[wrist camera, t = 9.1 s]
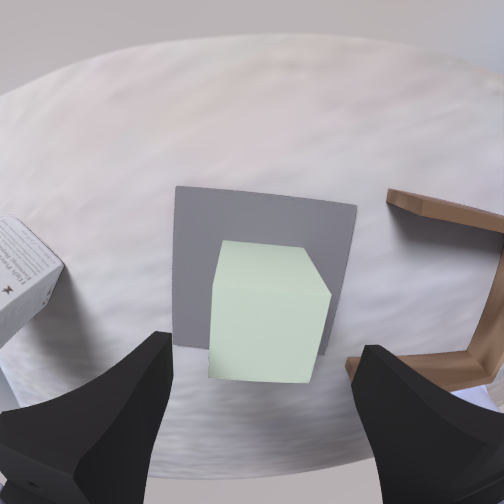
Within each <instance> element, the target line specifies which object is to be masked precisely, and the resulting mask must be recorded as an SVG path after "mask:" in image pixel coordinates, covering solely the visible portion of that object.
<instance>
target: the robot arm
mask: <svg viewBox="0 0 504 504" xmlns="http://www.w3.org/2000/svg"><path fill="white" fill-rule="evenodd" d="M172 381H173V354H172V333H167V332H159V331H155V332H154V333H152V334H151V335H150V336H149V337H148V338H147V339H146V340H145V341H143V342H142V343H141V344H140V345H139V346H138V347H137V348H135V349H134V350H133V351H132V352H131V353H130V354H128V355H127V356H126V357H125V358H124V359H122V360H121V361H120V362H119V363H117V364H116V365H114V366H113V367H112V368H110V369H109V370H108V371H106V372H105V373H103V374H102V375H100V376H99V377H97V378H96V379H94V380H92V381H90V382H89V383H87V384H85V385H83V386H81V387H79V388H77V389H75V390H73V391H71V392H68V393H66V394H64V395H62V396H60V397H57V398H54V399H52V400H49V401H46V402H43V403H39V404H36V405H33V406H29V407H24V408H20V409H15V410H10V411H4V412H2V413H1V414H0V471H1V473H2V474H3V475H4V476H5V477H6V478H7V481H6V483H5V486H3V485H2V484H1V483H0V504H143V501H144V494H145V487H146V480H147V474H148V469H149V464H150V458H151V453H152V450H153V446H154V442H155V439H156V436H157V433H158V430H159V427H160V424H161V421H162V418H163V415H164V412H165V409H166V406H167V403H168V400H169V396H170V391H171V386H172ZM351 387H352V392H353V397H354V401H355V405H356V408H357V411H358V413H359V416H360V419H361V421H362V424H363V427H364V429H365V432H366V434H367V437H368V440H369V442H370V445H371V448H372V450H373V454H374V457H375V461H376V465H377V470H378V474H379V480H380V486H381V492H382V499H383V504H504V413H502V412H501V411H500V410H499V408H498V407H497V406H496V405H495V403H494V402H493V401H492V399H491V398H490V397H489V395H488V392H487V389H486V386H485V385H481V386H477V387H472V388H468V389H463V390H458V391H453V392H448V391H446V390H444V389H442V388H440V387H439V386H437V385H436V384H434V383H433V382H431V381H429V380H428V379H426V378H425V377H423V376H422V375H421V374H419V373H418V372H416V371H415V370H414V369H412V368H411V367H409V366H408V365H407V364H405V363H404V362H403V361H401V360H400V359H399V358H397V357H396V356H395V355H393V354H392V353H391V352H389V351H388V350H386V349H385V348H383V347H382V346H380V345H365V347H364V350H363V353H362V356H361V359H360V362H359V364H358V367H357V370H356V373H355V375H354V378H353V381H352V383H351Z"/></svg>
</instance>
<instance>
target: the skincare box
mask: <svg viewBox="0 0 504 504" xmlns="http://www.w3.org/2000/svg"><path fill="white" fill-rule="evenodd" d="M63 267H64V265H63V263H62V262H61V260H60V259H59V258H58V257H57V256H55V255H54V254H53V253H52V252H51V251H50V250H49V249H48V248H47V247H46V246H45V245H44V244H43V243H42V242H41V241H40V240H39V239H38V238H37V237H36V236H35V235H34V234H33V233H32V232H31V231H30V230H29V229H28V228H26V227H25V226H24V225H23V224H22V223H21V222H20V221H19V220H18V219H17V218H16V217H14V216H13V215H11V214H8V215H5V216H3V217H0V349H1V348H2V347H3V346H4V345H5V344H6V343H7V342H8V341H9V340H10V339H11V338H12V337H13V336H14V335H15V334H16V333H17V332H18V331H19V330H20V329H21V328H22V327H23V326H24V325H25V324H26V323H27V322H28V321H30V320H31V319H32V318H33V317H34V316H35V315H36V314H37V313H38V312H39V311H40V310H41V309H43V308H44V307H45V306H46V305H47V303H48V301H49V299H50V296H51V294H52V292H53V289H54V287H55V285H56V282H57V280H58V278H59V276H60V273H61V271H62V269H63Z"/></svg>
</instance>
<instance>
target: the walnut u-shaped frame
mask: <svg viewBox="0 0 504 504" xmlns="http://www.w3.org/2000/svg"><path fill="white" fill-rule="evenodd" d="M386 202H389V203H391V204H394V205H396V206H398V207H401V208H403V209H406V210H408V211H410V212H413V213H415V214H417V215H420V216H424V217H430V218H435V219H440V220H445V221H450V222H455V223H460V224H465V225H469V226H474V227H479V228H483V229H488V230H492V231H496V232H501V233H504V216H502V215H498V214H495V213H491V212H488V211H484V210H480V209H476V208H473V207H469V206H465V205H461V204H457V203H453V202H449V201H445V200H440V199H436V198H432V197H427V196H423V195H418V194H414V193H409V192H404V191H399V190H394V189H389V188H388V195H387V201H386ZM396 357H397V358H399V359H400V360H401V361H403V362H404V363H405V364H407V365H408V366H409V367H411V368H412V369H414V370H415V371H416V372H418V373H419V374H421V375H422V376H423V377H425V378H426V379H428V380H429V381H431V382H433V383H434V384H436V385H437V386H439V387H440V388H442V389H444V390H446V391H448V392H453V391H458V390H463V389H468V388H472V387H477V386H481V385H485V384H489V383H492V382H493V380H494V378H495V377H496V375H497V373H498V371H499V369H500V367H501V365H502V363H503V362H504V247H503V251H502V255H501V259H500V262H499V266H498V269H497V273H496V276H495V279H494V282H493V285H492V288H491V291H490V294H489V297H488V300H487V303H486V306H485V308H484V311H483V314H482V316H481V319H480V321H479V324H478V326H477V329H476V331H475V333H474V336H473V338H472V340H471V343H470V345H469V347H468V349H467V350H466V351H457V352H447V353H436V354H423V355H408V356H396ZM360 359H361V357H351V358H347V361H346V364H345V368H346V370H347V372H348V375H349V377H350V379H351V382H352V381H353V378H354V375H355V373H356V370H357V367H358V364H359V362H360Z"/></svg>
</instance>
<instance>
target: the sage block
mask: <svg viewBox="0 0 504 504" xmlns="http://www.w3.org/2000/svg"><path fill="white" fill-rule="evenodd" d="M330 299H331V293H330V291H329V290H328V288H327V286H326V284H325V283H324V281H323V279H322V278H321V276H320V274H319V273H318V271H317V269H316V268H315V266H314V264H313V262H312V261H311V259H310V257H309V256H308V254H307V252H306V251H305V249H304V248H300V247H290V246H279V245H269V244H258V243H247V242H237V241H226V240H223V242H222V246H221V251H220V255H219V259H218V264H217V268H216V273H215V277H214V282H213V289H212V307H211V325H210V347H209V372H208V378H217V379H228V380H241V381H258V382H282V383H309V381H310V378H311V374H312V371H313V367H314V364H315V360H316V356H317V352H318V349H319V345H320V341H321V337H322V333H323V329H324V325H325V321H326V317H327V312H328V308H329V304H330Z"/></svg>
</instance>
